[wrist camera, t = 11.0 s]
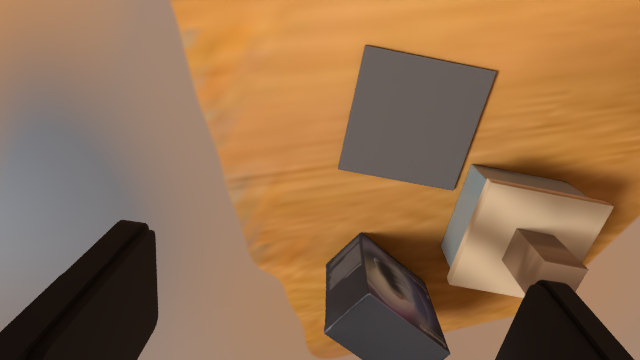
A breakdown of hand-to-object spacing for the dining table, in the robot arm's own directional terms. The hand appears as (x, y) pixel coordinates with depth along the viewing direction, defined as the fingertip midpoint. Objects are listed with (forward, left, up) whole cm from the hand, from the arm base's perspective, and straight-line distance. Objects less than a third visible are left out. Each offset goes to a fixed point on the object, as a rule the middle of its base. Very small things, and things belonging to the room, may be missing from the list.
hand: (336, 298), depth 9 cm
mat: (+1, +8, -28) cm, 29 cm away
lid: (+9, +20, -23) cm, 32 cm away
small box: (+19, +9, -28) cm, 36 cm away
